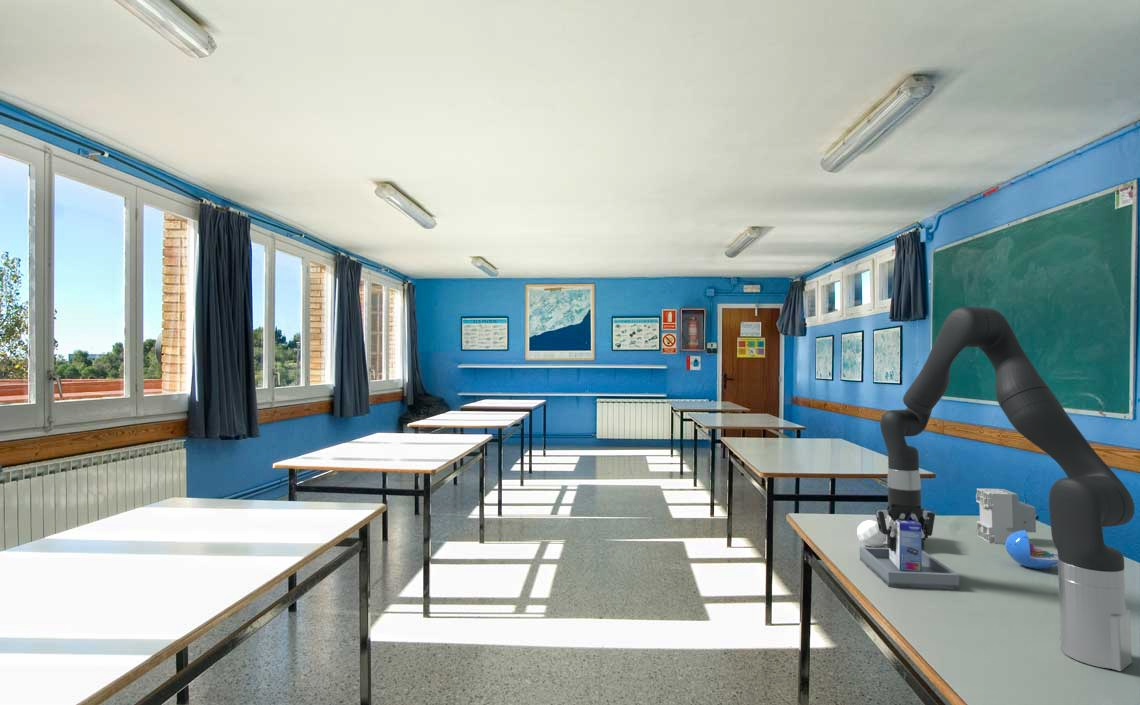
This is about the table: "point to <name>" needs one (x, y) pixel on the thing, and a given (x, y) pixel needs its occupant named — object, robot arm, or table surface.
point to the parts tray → (888, 572)
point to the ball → (870, 534)
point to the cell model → (1028, 552)
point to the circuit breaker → (1003, 515)
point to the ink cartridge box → (907, 546)
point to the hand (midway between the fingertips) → (905, 550)
